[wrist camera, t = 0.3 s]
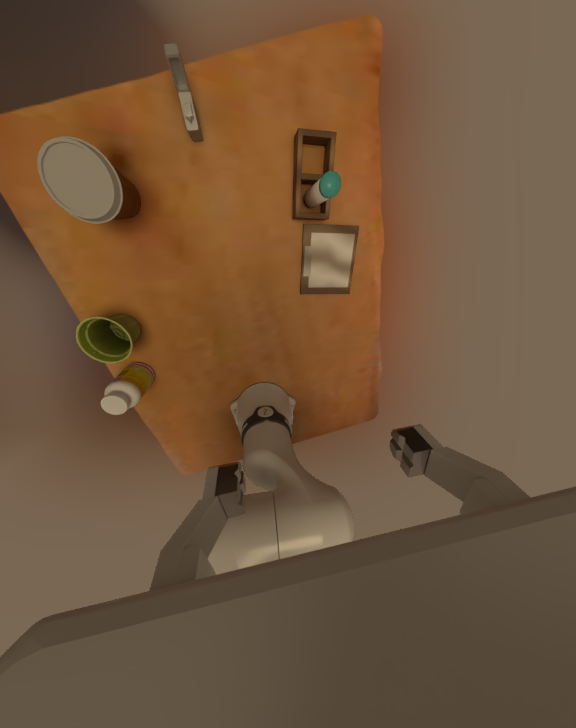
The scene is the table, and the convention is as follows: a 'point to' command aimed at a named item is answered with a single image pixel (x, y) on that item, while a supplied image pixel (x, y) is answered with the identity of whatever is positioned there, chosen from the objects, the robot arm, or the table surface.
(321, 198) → the marker
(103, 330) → the plant pot
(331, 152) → the box
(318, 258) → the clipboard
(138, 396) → the supplement bottle
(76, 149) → the disposable coffee cup
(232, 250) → the table surface
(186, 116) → the lighter
